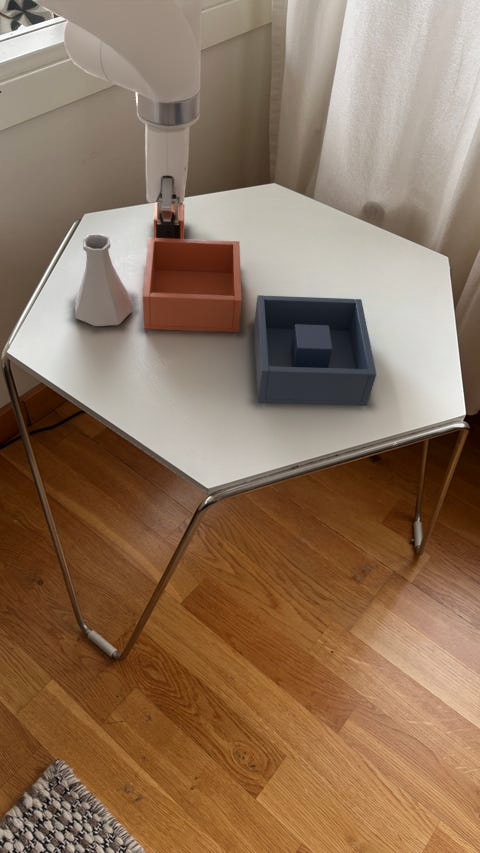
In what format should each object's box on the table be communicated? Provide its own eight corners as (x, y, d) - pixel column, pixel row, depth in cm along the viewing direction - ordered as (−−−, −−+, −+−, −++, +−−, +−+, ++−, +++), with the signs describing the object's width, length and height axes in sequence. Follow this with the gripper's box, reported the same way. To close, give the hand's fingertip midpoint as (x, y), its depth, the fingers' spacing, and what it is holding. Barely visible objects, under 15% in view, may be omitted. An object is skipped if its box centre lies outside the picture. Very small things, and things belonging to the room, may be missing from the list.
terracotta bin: (144, 329, 87) (142, 296, 83) (149, 269, 94) (148, 237, 90) (238, 332, 87) (241, 300, 83) (236, 273, 95) (239, 241, 91)
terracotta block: (154, 244, 98) (153, 219, 94) (155, 227, 100) (155, 202, 97) (183, 245, 98) (183, 220, 95) (184, 228, 100) (184, 204, 97)
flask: (124, 332, 86) (118, 265, 78) (66, 323, 86) (55, 255, 79) (139, 294, 91) (135, 228, 83) (83, 286, 91) (75, 219, 83)
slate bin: (257, 402, 80) (261, 371, 76) (253, 326, 88) (257, 294, 84) (367, 405, 81) (376, 374, 77) (353, 330, 89) (361, 298, 85)
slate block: (293, 372, 83) (297, 348, 80) (290, 348, 85) (294, 323, 82) (326, 373, 83) (332, 349, 80) (323, 349, 86) (329, 325, 82)
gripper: (141, 68, 90) (146, 188, 103) (131, 138, 79) (138, 263, 92) (200, 71, 90) (198, 190, 103) (198, 141, 79) (196, 265, 92)
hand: (170, 224), depth 98 cm, fingers open, 9 cm apart
